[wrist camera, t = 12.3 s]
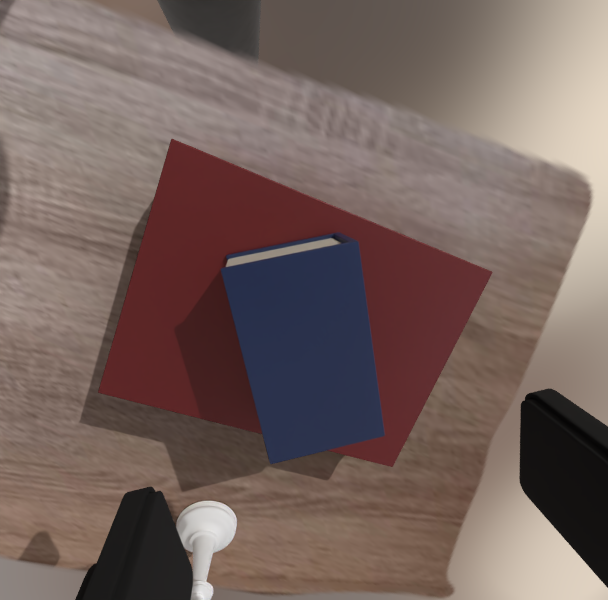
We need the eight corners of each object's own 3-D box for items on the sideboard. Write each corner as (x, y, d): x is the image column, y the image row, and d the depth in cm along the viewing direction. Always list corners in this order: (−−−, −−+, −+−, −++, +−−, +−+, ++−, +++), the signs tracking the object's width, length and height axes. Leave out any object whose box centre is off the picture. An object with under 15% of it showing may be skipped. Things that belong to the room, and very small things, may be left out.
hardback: (122, 359, 26) (97, 392, 22) (186, 148, 23) (171, 138, 19) (372, 428, 31) (392, 467, 26) (455, 259, 27) (493, 272, 23)
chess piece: (175, 547, 31) (141, 703, 22) (177, 499, 30) (143, 643, 20) (234, 546, 32) (226, 696, 23) (239, 500, 31) (233, 638, 21)
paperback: (226, 254, 21) (220, 269, 17) (339, 231, 21) (358, 240, 17) (267, 421, 24) (270, 464, 20) (364, 398, 24) (385, 436, 21)
